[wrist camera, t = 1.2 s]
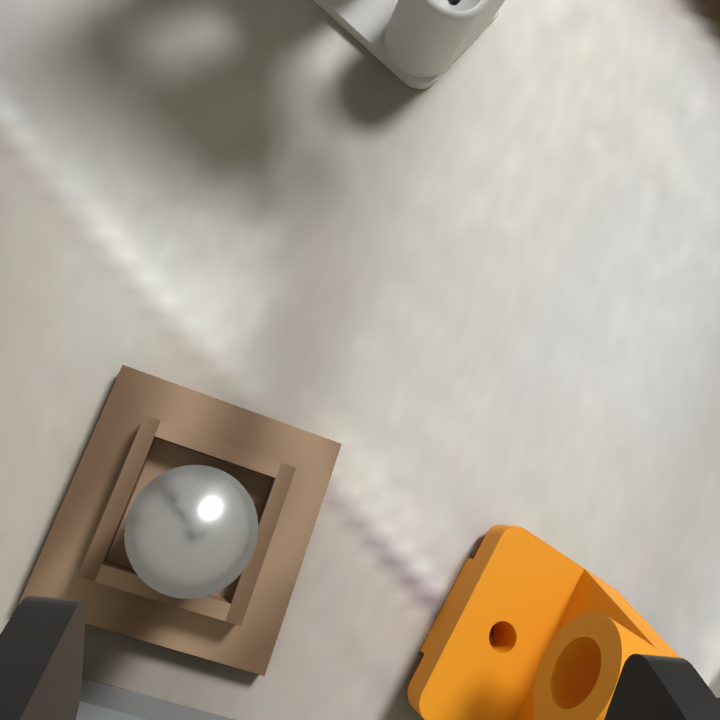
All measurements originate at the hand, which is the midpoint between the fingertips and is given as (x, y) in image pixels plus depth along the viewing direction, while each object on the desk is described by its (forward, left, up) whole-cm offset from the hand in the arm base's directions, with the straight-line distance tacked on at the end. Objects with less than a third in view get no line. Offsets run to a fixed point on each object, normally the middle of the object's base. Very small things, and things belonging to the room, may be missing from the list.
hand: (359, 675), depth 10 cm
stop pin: (-3, 0, -25) cm, 25 cm away
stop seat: (-3, 0, -26) cm, 26 cm away
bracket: (+15, -1, -26) cm, 30 cm away
